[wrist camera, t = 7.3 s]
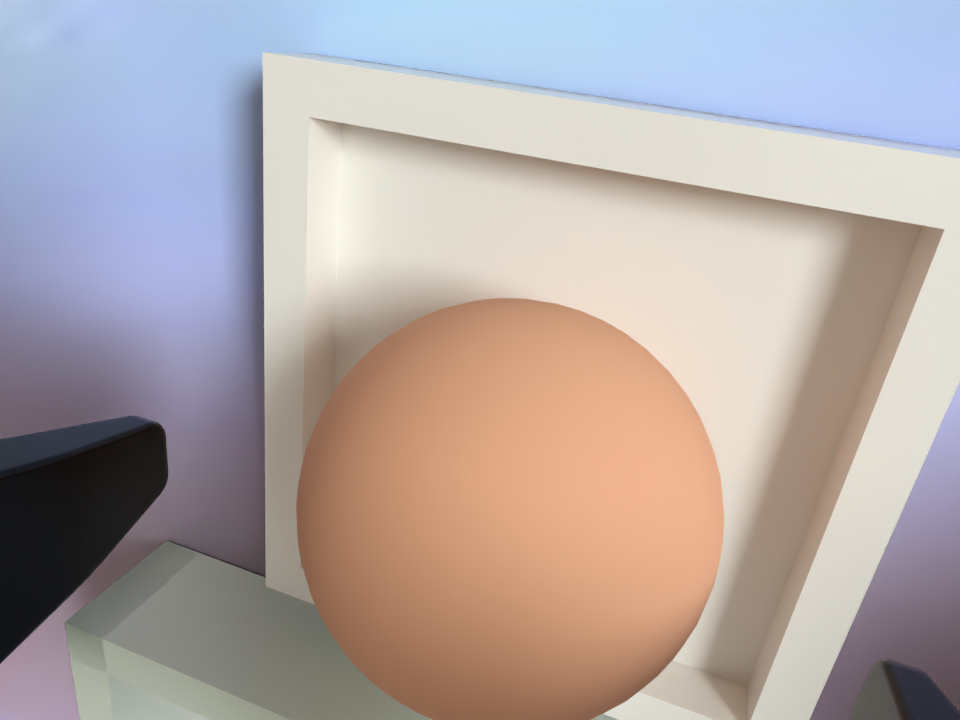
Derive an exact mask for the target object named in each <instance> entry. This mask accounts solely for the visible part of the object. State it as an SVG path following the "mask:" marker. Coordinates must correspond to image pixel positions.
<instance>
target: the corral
mask: <svg viewBox="0 0 960 720" xmlns="http://www.w3.org/2000/svg"><path fill="white" fill-rule="evenodd" d="M65 630H66V636H67V642H68V648H69V655H70V661H71V667H72V673H73V680H74V686H75V692H76V698H77V705H78V711H79V717H80V720H432V719H430V718H428V717H426V716H424V715H421V714H419V713H417V712H415V711H413V710H411V709H410V708H408V707H406V706H404V705H403V704H401V703H399V702H398V701H396V700H395V699H393V698H392V697H390V696H389V695H387V694H386V693H385V692H383V691H382V690H381V689H380V688H378V687H377V686H376V685H375V684H373V683H372V682H371V681H370V680H369V679H368V678H367V677H366V676H365V675H364V674H363V673H362V672H361V671H360V670H359V669H357V667H356V666H355V665H354V664H353V663H352V662H351V660H350V659H349V658H348V657H347V656H346V655H345V653H344V652H343V650H342V649H341V648H340V646H339V645H338V643H337V642H336V641H335V639H334V638H333V636H332V635H331V633H330V632H329V630H328V628H327V627H326V625H325V623H324V621H323V620H322V618H321V616H320V614H319V612H318V610H317V608H316V606H315V605H314V604H311V603H308V602H306V601H303V600H301V599H298V598H295V597H293V596H290V595H287V594H285V593H282V592H279V591H277V590H274V589H271V588H269V587H266V578H265V577H263V576H260V575H257V574H255V573H252V572H249V571H247V570H244V569H241V568H239V567H236V566H233V565H231V564H228V563H225V562H222V561H220V560H217V559H214V558H212V557H209V556H206V555H204V554H201V553H198V552H196V551H193V550H190V549H188V548H185V547H182V546H180V545H177V544H174V543H172V542H169V541H165V542H164V543H163V544H162V545H160V546H159V547H158V548H157V549H155V550H154V551H153V552H152V553H151V554H149V555H148V556H147V557H146V558H144V559H143V560H142V561H141V562H139V563H138V564H137V565H136V566H134V567H133V568H132V569H131V570H129V571H128V572H127V573H126V574H124V575H123V576H122V577H121V578H119V579H118V580H117V581H116V582H114V583H113V584H112V585H111V586H109V587H108V588H107V589H106V590H104V591H103V592H102V593H101V594H99V595H98V596H97V597H96V598H94V599H93V600H92V601H91V602H90V603H88V604H87V605H86V606H85V607H83V608H82V609H81V610H80V611H78V612H77V613H76V614H75V615H73V616H72V617H71V618H70V619H68V620H67V621H66V622H65ZM591 720H618V719H615V718H613V717H610V716H608V715H605V714H601V715H599V716H597V717H595V718H593V719H591Z"/></svg>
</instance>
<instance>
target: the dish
mask: <svg viewBox="0 0 960 720" xmlns="http://www.w3.org/2000/svg"><path fill="white" fill-rule="evenodd" d="M263 201H264V379H265V558H266V587H269V588H271V589H274V590H277V591H279V592H282V593H285V594H287V595H290V596H293V597H295V598H298V599H301V600H303V601H306V602H308V603H311V604H314V605H315V603H314V601H313V599H312V596H311V593H310V590H309V587H308V584H307V580H306V577H305V574H304V570H303V567H302V563H301V558H300V553H299V547H298V536H297V515H296V502H297V491H298V483H299V478H300V472H301V467H302V463H303V459H304V455H305V451H306V447H307V445H308V442H309V440H310V437H311V435H312V432H313V430H314V428H315V425H316V423H317V421H318V418H319V416H320V413H321V411H322V410H323V408H324V407H325V405H326V403H327V402H328V400H329V399H330V397H331V395H332V394H333V392H334V391H335V389H336V388H337V386H338V385H339V383H340V382H341V380H342V379H343V378H344V377H345V376H346V375H347V373H348V372H349V371H350V370H351V369H352V368H353V367H354V365H355V364H356V363H357V362H358V361H359V360H360V359H361V358H362V357H363V356H365V355H366V354H367V353H368V352H369V351H370V350H371V349H372V348H374V347H375V346H376V345H377V344H378V343H380V342H381V341H382V340H383V339H384V338H386V337H387V336H389V335H390V334H392V333H394V332H396V331H397V330H399V329H401V328H402V327H404V326H406V325H407V324H409V323H411V322H413V321H414V320H416V319H418V318H420V317H422V316H425V315H427V314H430V313H432V312H435V311H437V310H440V309H443V308H447V307H451V306H455V305H459V304H463V303H467V302H472V301H476V300H485V299H495V298H519V299H531V300H537V301H543V302H549V303H555V304H559V305H563V306H566V307H570V308H573V309H576V310H580V311H583V312H585V313H587V314H589V315H592V316H594V317H596V318H599V319H601V320H603V321H605V322H607V323H609V324H610V325H612V326H614V327H615V328H617V329H619V330H621V331H622V332H624V333H626V334H627V335H629V336H630V337H631V338H632V339H634V340H635V341H636V342H638V343H639V344H640V345H641V346H643V347H644V348H645V349H647V350H648V351H649V352H650V353H651V354H652V355H653V356H654V357H655V358H656V359H657V360H658V361H659V362H660V363H661V364H662V365H663V366H664V367H665V368H666V369H667V370H668V371H669V372H670V373H671V375H672V376H673V377H674V378H675V380H676V381H677V382H678V384H679V385H680V386H681V387H682V389H683V390H684V391H685V393H686V394H687V395H688V397H689V399H690V401H691V402H692V404H693V406H694V407H695V409H696V411H697V413H698V414H699V416H700V418H701V420H702V423H703V425H704V428H705V430H706V433H707V435H708V437H709V440H710V442H711V445H712V448H713V450H714V453H715V457H716V461H717V465H718V469H719V473H720V477H721V486H722V497H723V509H724V531H723V545H722V551H721V557H720V562H719V566H718V571H717V575H716V579H715V583H714V587H713V589H712V591H711V594H710V596H709V598H708V601H707V603H706V605H705V608H704V610H703V612H702V615H701V617H700V619H699V622H698V624H697V626H696V627H695V629H694V630H693V632H692V633H691V635H690V636H689V638H688V639H687V641H686V642H685V644H684V645H683V647H682V648H681V649H680V651H679V652H678V654H677V655H676V656H675V658H674V659H673V660H672V661H671V662H670V663H669V664H668V665H667V667H666V668H665V669H664V670H663V671H662V672H661V673H660V674H659V675H658V676H657V677H656V678H655V679H654V680H652V681H651V682H650V683H649V684H648V685H646V686H645V687H644V688H643V689H642V690H640V691H639V692H638V693H636V694H635V695H634V696H632V697H631V698H630V699H628V700H627V701H626V702H624V703H622V704H620V705H618V706H616V707H615V708H613V709H611V710H609V711H607V712H605V713H603V714H605V715H608V716H610V717H613V718H615V719H618V720H810V717H811V715H812V713H813V711H814V708H815V706H816V704H817V702H818V699H819V697H820V695H821V693H822V690H823V688H824V686H825V684H826V681H827V679H828V677H829V675H830V672H831V670H832V668H833V666H834V663H835V661H836V659H837V657H838V654H839V652H840V650H841V648H842V645H843V643H844V641H845V639H846V636H847V634H848V632H849V630H850V627H851V625H852V623H853V621H854V618H855V616H856V614H857V612H858V609H859V607H860V605H861V603H862V600H863V598H864V596H865V593H866V591H867V589H868V587H869V584H870V582H871V580H872V578H873V575H874V573H875V571H876V569H877V566H878V564H879V562H880V560H881V557H882V555H883V553H884V551H885V548H886V546H887V544H888V542H889V539H890V537H891V535H892V533H893V530H894V528H895V526H896V524H897V521H898V519H899V517H900V515H901V512H902V510H903V508H904V506H905V503H906V501H907V499H908V497H909V494H910V492H911V490H912V488H913V485H914V483H915V481H916V479H917V476H918V474H919V472H920V470H921V467H922V465H923V463H924V461H925V458H926V456H927V454H928V452H929V449H930V447H931V445H932V443H933V440H934V438H935V436H936V434H937V431H938V429H939V427H940V425H941V422H942V420H943V418H944V416H945V413H946V411H947V409H948V407H949V404H950V402H951V400H952V398H953V395H954V393H955V391H956V389H957V386H958V384H959V382H960V150H954V149H948V148H941V147H934V146H928V145H921V144H914V143H908V142H901V141H894V140H888V139H881V138H874V137H868V136H861V135H854V134H848V133H841V132H834V131H828V130H821V129H814V128H808V127H801V126H794V125H788V124H781V123H774V122H768V121H761V120H754V119H748V118H741V117H734V116H728V115H721V114H714V113H708V112H701V111H694V110H688V109H681V108H674V107H668V106H661V105H654V104H648V103H641V102H634V101H628V100H621V99H614V98H608V97H601V96H594V95H588V94H581V93H574V92H568V91H561V90H554V89H547V88H541V87H534V86H527V85H521V84H514V83H507V82H501V81H494V80H487V79H481V78H474V77H467V76H461V75H454V74H447V73H441V72H434V71H427V70H421V69H414V68H407V67H401V66H394V65H387V64H381V63H374V62H367V61H361V60H354V59H347V58H341V57H334V56H327V55H321V54H304V53H274V52H263Z"/></svg>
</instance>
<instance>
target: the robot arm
mask: <svg viewBox="0 0 960 720" xmlns="http://www.w3.org/2000/svg"><path fill="white" fill-rule="evenodd" d="M167 479H168V461H167V447H166V434H165V431H164V429H163V427H162V425H160V424H159V423H157V422H154V421H151V420H148V419H145V418H142V417H139V416H127V417H121V418H116V419H110V420H105V421H99V422H94V423H88V424H83V425H77V426H72V427H66V428H61V429H55V430H49V431H44V432H38V433H33V434H27V435H22V436H16V437H11V438H5V439H0V664H1V663H2V662H3V661H4V660H5V659H6V658H7V657H8V656H9V655H10V654H11V653H12V652H13V651H14V650H15V649H16V648H17V647H18V646H19V645H20V644H21V643H22V642H23V641H24V640H25V639H26V638H27V637H28V636H29V635H30V634H31V633H32V632H33V631H35V630H36V629H37V628H38V627H39V626H40V625H41V624H42V623H43V622H44V621H45V620H46V619H47V618H48V617H49V616H50V615H51V614H52V613H53V612H54V611H55V610H56V609H57V608H58V607H59V606H60V605H61V604H62V603H63V602H64V601H65V600H66V599H67V598H68V597H69V596H70V595H71V594H73V593H74V592H75V591H76V589H77V588H78V587H79V586H80V585H81V584H82V583H83V582H84V581H85V580H86V579H87V578H88V577H89V576H90V575H91V574H92V573H93V572H94V571H95V569H96V568H97V567H98V566H99V565H100V564H101V563H102V561H103V560H104V559H105V558H106V557H107V556H108V554H109V553H110V552H111V551H112V550H113V549H114V547H115V546H116V545H117V544H118V543H119V542H120V540H121V539H122V538H123V537H124V536H125V535H126V533H127V532H128V531H129V530H130V529H131V528H132V526H133V525H134V524H135V523H136V522H137V521H138V519H139V518H140V517H141V516H142V515H143V514H144V512H145V511H146V510H147V509H148V508H149V507H150V505H151V504H152V503H153V502H154V501H155V500H156V498H157V497H158V496H159V495H160V494H161V492H162V491H163V489H164V487H165V485H166V483H167ZM849 720H960V712H959V711H958V710H957V709H956V708H955V706H954V705H953V704H952V703H951V702H950V701H949V699H948V698H947V697H946V696H945V695H944V694H943V692H942V691H941V690H940V689H939V688H938V687H937V685H936V684H935V683H934V682H933V681H932V680H931V678H930V677H929V676H928V675H927V674H926V673H924V672H923V671H921V670H919V669H916V668H913V667H910V666H907V665H904V664H901V663H898V662H895V661H891V660H888V659H882V660H878V661H877V662H876V664H875V665H874V666H873V668H872V669H871V671H870V673H869V676H868V678H867V680H866V682H865V684H864V686H863V688H862V690H861V692H860V694H859V697H858V699H857V701H856V703H855V705H854V707H853V709H852V711H851V714H850V717H849Z"/></svg>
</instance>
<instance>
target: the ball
mask: <svg viewBox="0 0 960 720" xmlns="http://www.w3.org/2000/svg"><path fill="white" fill-rule="evenodd" d="M296 515H297V536H298V547H299V553H300V558H301V563H302V567H303V570H304V574H305V577H306V580H307V584H308V587H309V590H310V593H311V596H312V599H313V601H314V603H315V606H316V608H317V610H318V612H319V614H320V616H321V618H322V620H323V621H324V623H325V625H326V627H327V628H328V630H329V632H330V633H331V635H332V636H333V638H334V639H335V641H336V642H337V643H338V645H339V646H340V648H341V649H342V650H343V652H344V653H345V655H346V656H347V657H348V658H349V659H350V660H351V662H352V663H353V664H354V665H355V666H356V667H357V669H359V670H360V671H361V672H362V673H363V674H364V675H365V676H366V677H367V678H368V679H369V680H370V681H371V682H372V683H373V684H375V685H376V686H377V687H378V688H380V689H381V690H382V691H383V692H385V693H386V694H387V695H389V696H390V697H392V698H393V699H395V700H396V701H398V702H399V703H401V704H403V705H404V706H406V707H408V708H410V709H411V710H413V711H415V712H417V713H419V714H421V715H424V716H426V717H428V718H430V719H432V720H591V719H593V718H595V717H597V716H599V715H601V714H603V713H605V712H607V711H609V710H611V709H613V708H615V707H616V706H618V705H620V704H622V703H624V702H626V701H627V700H628V699H630V698H631V697H632V696H634V695H635V694H636V693H638V692H639V691H640V690H642V689H643V688H644V687H645V686H646V685H648V684H649V683H650V682H651V681H652V680H654V679H655V678H656V677H657V676H658V675H659V674H660V673H661V672H662V671H663V670H664V669H665V668H666V667H667V665H668V664H669V663H670V662H671V661H672V660H673V659H674V658H675V656H676V655H677V654H678V652H679V651H680V649H681V648H682V647H683V645H684V644H685V642H686V641H687V639H688V638H689V636H690V635H691V633H692V632H693V630H694V629H695V627H696V626H697V624H698V622H699V619H700V617H701V615H702V612H703V610H704V608H705V605H706V603H707V601H708V598H709V596H710V594H711V591H712V589H713V587H714V583H715V579H716V575H717V571H718V566H719V562H720V557H721V551H722V545H723V531H724V509H723V497H722V486H721V477H720V473H719V469H718V465H717V461H716V457H715V453H714V450H713V448H712V445H711V442H710V440H709V437H708V435H707V433H706V430H705V428H704V425H703V423H702V420H701V418H700V416H699V414H698V413H697V411H696V409H695V407H694V406H693V404H692V402H691V401H690V399H689V397H688V395H687V394H686V393H685V391H684V390H683V389H682V387H681V386H680V385H679V384H678V382H677V381H676V380H675V378H674V377H673V376H672V375H671V373H670V372H669V371H668V370H667V369H666V368H665V367H664V366H663V365H662V364H661V363H660V362H659V361H658V360H657V359H656V358H655V357H654V356H653V355H652V354H651V353H650V352H649V351H648V350H647V349H645V348H644V347H643V346H641V345H640V344H639V343H638V342H636V341H635V340H634V339H632V338H631V337H630V336H629V335H627V334H626V333H624V332H622V331H621V330H619V329H617V328H615V327H614V326H612V325H610V324H609V323H607V322H605V321H603V320H601V319H599V318H596V317H594V316H592V315H589V314H587V313H585V312H583V311H580V310H576V309H573V308H570V307H566V306H563V305H559V304H555V303H549V302H543V301H537V300H531V299H519V298H495V299H485V300H476V301H472V302H467V303H463V304H459V305H455V306H451V307H447V308H443V309H440V310H437V311H435V312H432V313H430V314H427V315H425V316H422V317H420V318H418V319H416V320H414V321H413V322H411V323H409V324H407V325H406V326H404V327H402V328H401V329H399V330H397V331H396V332H394V333H392V334H390V335H389V336H387V337H386V338H384V339H383V340H382V341H381V342H380V343H378V344H377V345H376V346H375V347H374V348H372V349H371V350H370V351H369V352H368V353H367V354H366V355H365V356H363V357H362V358H361V359H360V360H359V361H358V362H357V363H356V364H355V365H354V367H353V368H352V369H351V370H350V371H349V372H348V373H347V375H346V376H345V377H344V378H343V379H342V380H341V382H340V383H339V385H338V386H337V388H336V389H335V391H334V392H333V394H332V395H331V397H330V399H329V400H328V402H327V403H326V405H325V407H324V408H323V410H322V411H321V413H320V416H319V418H318V421H317V423H316V425H315V428H314V430H313V432H312V435H311V437H310V440H309V442H308V445H307V447H306V451H305V455H304V459H303V463H302V467H301V472H300V478H299V483H298V491H297V502H296Z"/></svg>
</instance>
